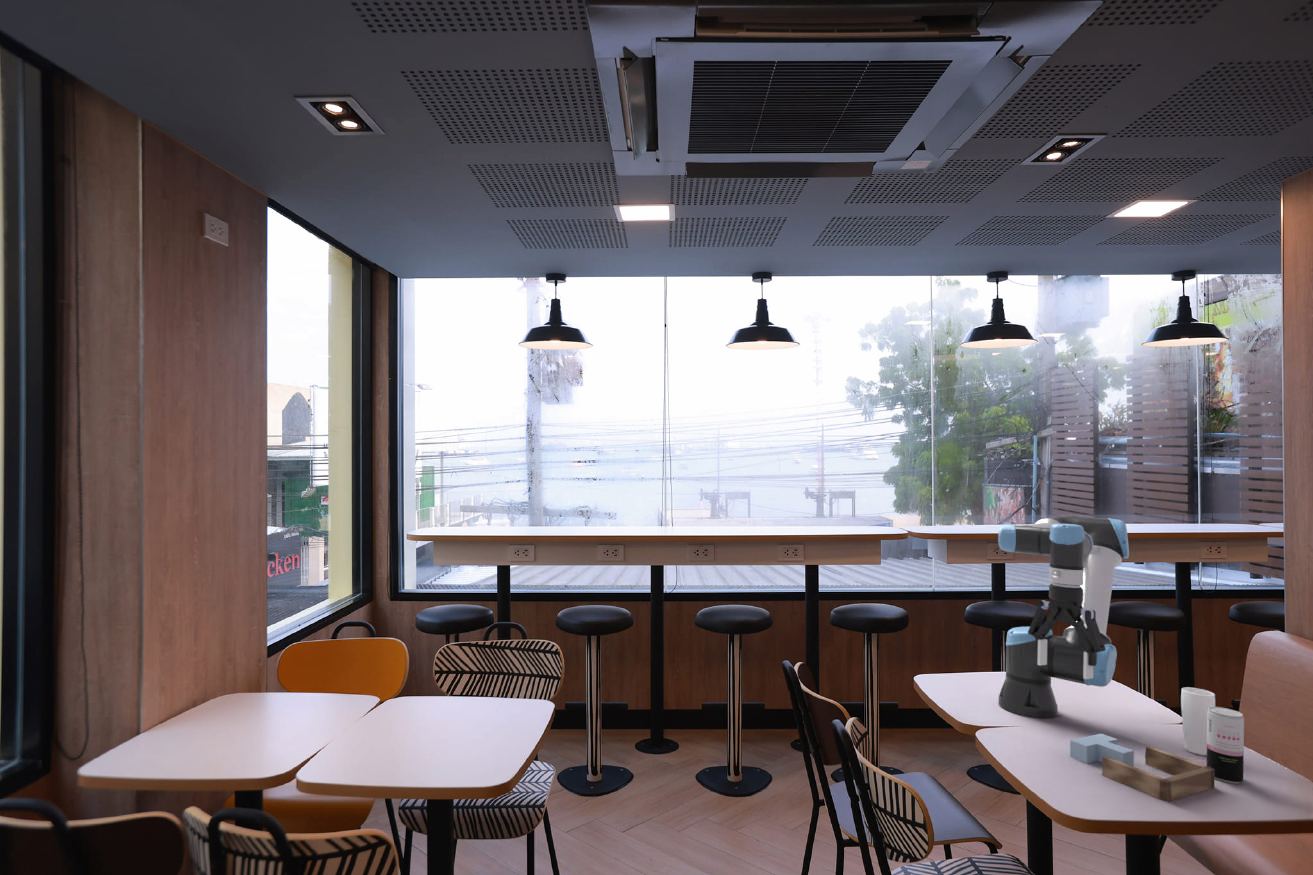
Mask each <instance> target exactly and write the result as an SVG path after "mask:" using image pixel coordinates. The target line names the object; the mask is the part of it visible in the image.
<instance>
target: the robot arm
mask: <svg viewBox="0 0 1313 875" xmlns="http://www.w3.org/2000/svg"><path fill="white" fill-rule="evenodd" d="M997 535H998V537H997V538H998V539H997V540H998V546H999V549H1000V550H1001V551H1004V552H1008V553H1009V552H1010V553H1017V554H1029V555H1040V556H1047V557H1049V575H1048V576H1049V579H1048V581H1049V582H1050V584H1049V585H1048V598H1049V601H1048V600H1046V599H1044V600H1043V599H1042V600H1041V599H1040V600H1038V601H1037V604H1036V605H1037V606H1036V607H1037V608H1036V611H1035V614H1034V616H1033V619H1032V621H1031V623H1030V626H1017V627H1011V629H1009V630H1008V631H1007V633H1006V642H1005V647H1006V648H1005V680H1004V682H1003V683H1002V684H1003V685H1002V686H1001V689H1000V693H999V694H998V706H1000V707H1001V708H1002V709H1004V710H1006V711H1009V712H1011V713H1013V714H1017V715H1021V716H1026V717H1032V718H1054V717H1057V715H1058V713H1059V712H1058V711H1059V710H1058V709H1059V708H1058V707H1059V706H1058V703H1057V701H1056V700H1057V699H1056V696H1055V693H1054V691H1053V687H1052V678H1054V679H1059V680H1064V681H1068V682H1073V683H1078V684H1082V685H1086V686H1088V687H1089V686H1094V687H1101V688H1104V687H1106V686H1108V685H1109V684H1110V682H1112V679H1113V677H1114V673H1115V669H1116V663H1117V662H1116V661H1117V656H1118V652H1117V648H1116V646H1115V645H1113V644H1112V640H1111V638H1110V637H1109V635H1107V628H1108V621H1109V614H1110V606H1111V598H1112V591H1113V584H1114V583H1113V582H1114V577H1115V576H1114V575H1115V568H1118V567H1119V566H1121V564H1122V561H1123V560H1125V559H1129V557H1130V550H1129V549H1130V547H1129V545H1130V544H1129V538H1128V537H1129V536H1128V529H1127V525H1126V523H1125V521H1123V520H1121V519H1114V518H1110V517H1108V518H1105V517H1104V518H1103V517H1101V518H1100V517H1099V518H1098V517H1089V516H1076V515H1075V516H1074V515H1060V516H1054V517H1047V518H1042V519H1039V520H1038V521H1036V522H1035V523H1032V524H1024V525H1023V524H1022V525H1016V524H1015V525H1014V524H1002V525H1001V526H1000V528H999V530H998V534H997ZM1048 610H1050V613H1049V615H1048V616H1047V617H1046V614H1047V612H1048ZM1045 617H1046V620H1044V619H1045ZM1043 622H1044V623H1043ZM1057 622H1064V623H1066V624H1070V626H1068V627H1067V628H1065V629H1063V634H1062V636H1061V635H1060V636H1059V635H1054V634H1053V630H1052V628H1053V627H1054V626H1055V624H1056V623H1057Z"/></svg>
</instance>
